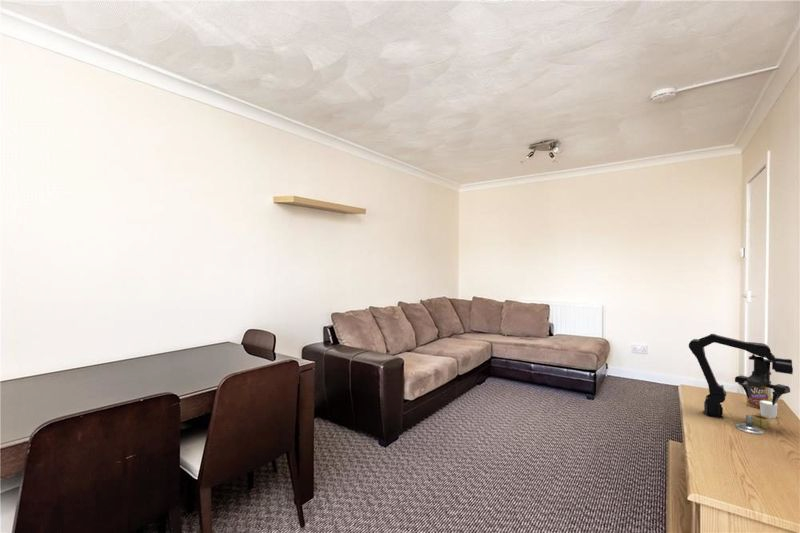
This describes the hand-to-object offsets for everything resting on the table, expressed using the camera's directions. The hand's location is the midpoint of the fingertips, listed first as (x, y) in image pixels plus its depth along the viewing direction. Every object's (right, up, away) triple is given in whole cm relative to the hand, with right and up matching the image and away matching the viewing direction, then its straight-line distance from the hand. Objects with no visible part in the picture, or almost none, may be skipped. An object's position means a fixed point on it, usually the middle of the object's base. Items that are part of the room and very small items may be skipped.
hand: (760, 401), depth 180 cm
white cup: (+15, -12, +11) cm, 22 cm away
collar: (0, -12, 0) cm, 12 cm away
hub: (-10, -12, -4) cm, 16 cm away
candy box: (+20, -12, +22) cm, 32 cm away
